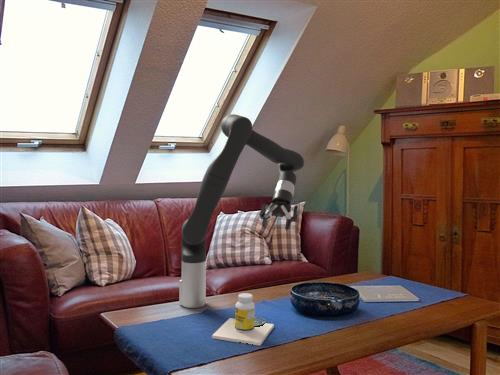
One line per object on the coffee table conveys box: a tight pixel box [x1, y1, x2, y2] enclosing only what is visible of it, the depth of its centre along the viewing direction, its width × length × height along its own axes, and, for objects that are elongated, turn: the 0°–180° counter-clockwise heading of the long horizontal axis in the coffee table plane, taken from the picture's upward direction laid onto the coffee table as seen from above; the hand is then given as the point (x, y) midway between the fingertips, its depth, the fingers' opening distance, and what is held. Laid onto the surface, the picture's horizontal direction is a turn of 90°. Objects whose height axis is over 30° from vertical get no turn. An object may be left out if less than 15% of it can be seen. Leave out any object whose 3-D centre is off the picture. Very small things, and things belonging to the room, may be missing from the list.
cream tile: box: [211, 317, 275, 346], centre depth 161 cm, size 16×16×1 cm
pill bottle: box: [234, 292, 256, 332], centre depth 161 cm, size 6×6×12 cm
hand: (275, 228), depth 181 cm, fingers open, 8 cm apart
